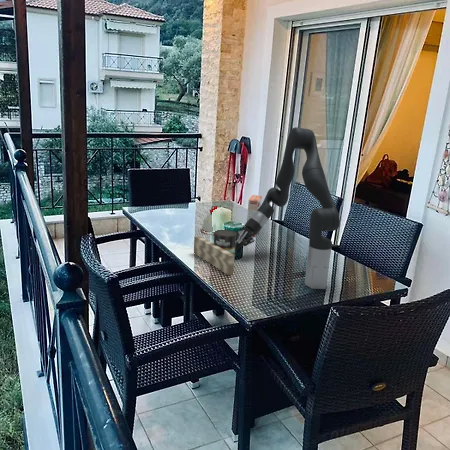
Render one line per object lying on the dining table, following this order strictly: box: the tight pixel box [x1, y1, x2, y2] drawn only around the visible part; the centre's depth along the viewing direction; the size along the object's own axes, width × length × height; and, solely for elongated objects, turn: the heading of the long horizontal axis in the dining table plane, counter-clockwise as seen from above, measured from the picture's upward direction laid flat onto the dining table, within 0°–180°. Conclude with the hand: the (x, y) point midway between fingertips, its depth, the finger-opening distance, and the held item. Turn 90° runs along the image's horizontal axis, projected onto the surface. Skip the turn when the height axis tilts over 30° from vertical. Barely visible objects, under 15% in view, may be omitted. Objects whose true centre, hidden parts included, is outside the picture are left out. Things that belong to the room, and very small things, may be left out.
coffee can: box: [213, 229, 236, 257], centre depth 211 cm, size 10×10×14 cm
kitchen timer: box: [201, 205, 218, 232], centre depth 256 cm, size 14×14×15 cm
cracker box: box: [246, 194, 262, 238], centre depth 257 cm, size 14×6×21 cm, turn 168°
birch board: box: [193, 235, 235, 276], centre depth 208 cm, size 30×2×9 cm, turn 34°
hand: (233, 250), depth 215 cm, fingers closed
